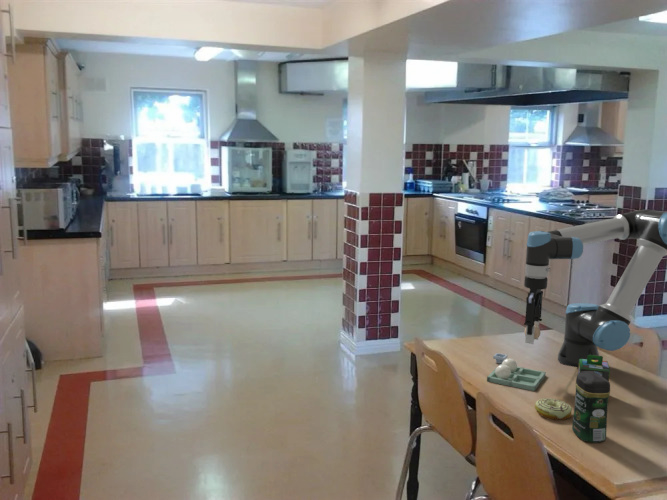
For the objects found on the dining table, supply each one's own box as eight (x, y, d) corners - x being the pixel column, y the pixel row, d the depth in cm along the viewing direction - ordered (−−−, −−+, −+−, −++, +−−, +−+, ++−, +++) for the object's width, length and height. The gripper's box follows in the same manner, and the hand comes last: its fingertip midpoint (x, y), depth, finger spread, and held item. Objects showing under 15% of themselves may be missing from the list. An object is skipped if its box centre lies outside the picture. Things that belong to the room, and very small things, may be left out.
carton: (545, 378, 221) (545, 372, 221) (534, 393, 208) (534, 386, 207) (500, 369, 230) (500, 363, 229) (486, 383, 216) (487, 377, 216)
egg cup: (507, 363, 236) (507, 354, 236) (503, 366, 233) (504, 358, 232) (496, 361, 238) (496, 352, 238) (492, 364, 235) (493, 355, 234)
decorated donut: (566, 425, 185) (567, 413, 184) (530, 416, 191) (531, 404, 190) (575, 413, 194) (575, 401, 193) (540, 404, 200) (541, 393, 199)
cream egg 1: (518, 372, 225) (519, 358, 224) (514, 376, 220) (515, 362, 219) (503, 369, 227) (504, 355, 226) (499, 373, 223) (500, 359, 222)
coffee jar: (567, 428, 182) (572, 368, 179) (593, 428, 183) (598, 368, 180) (582, 444, 173) (588, 381, 170) (610, 443, 173) (615, 380, 170)
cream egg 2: (512, 378, 218) (513, 364, 217) (508, 383, 214) (509, 368, 213) (497, 375, 221) (498, 361, 220) (492, 380, 216) (493, 365, 215)
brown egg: (526, 336, 221) (527, 321, 220) (541, 338, 218) (542, 324, 218) (522, 340, 217) (523, 325, 216) (537, 342, 214) (538, 327, 213)
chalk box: (605, 393, 209) (609, 351, 206) (607, 404, 200) (611, 360, 198) (576, 389, 212) (579, 348, 209) (577, 400, 203) (580, 356, 201)
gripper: (540, 282, 204) (536, 349, 208) (553, 273, 220) (548, 336, 223) (518, 279, 208) (513, 345, 212) (532, 270, 223) (527, 332, 227)
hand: (531, 340), depth 218 cm, fingers closed on brown egg, 5 cm apart
